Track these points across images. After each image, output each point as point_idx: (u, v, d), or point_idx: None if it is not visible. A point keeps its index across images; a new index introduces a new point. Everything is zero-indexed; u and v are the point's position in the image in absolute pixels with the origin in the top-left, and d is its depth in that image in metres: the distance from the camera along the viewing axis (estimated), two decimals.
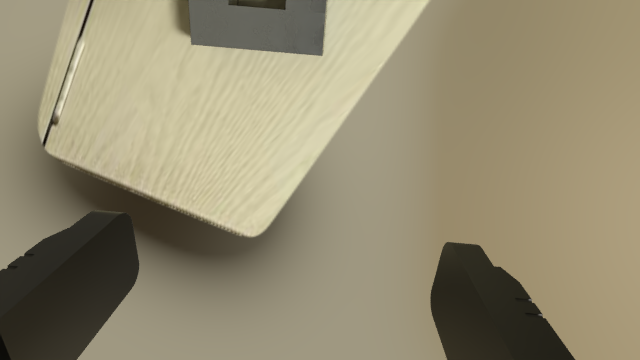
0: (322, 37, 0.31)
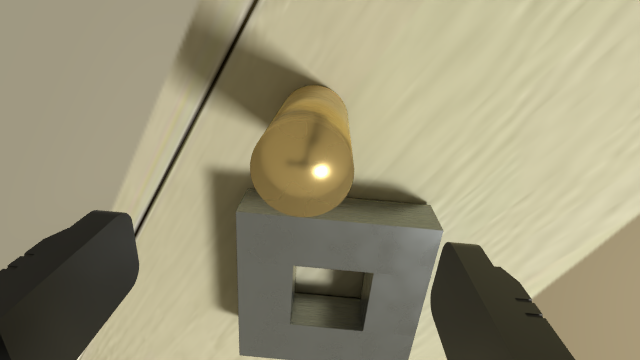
0: (407, 355, 0.24)
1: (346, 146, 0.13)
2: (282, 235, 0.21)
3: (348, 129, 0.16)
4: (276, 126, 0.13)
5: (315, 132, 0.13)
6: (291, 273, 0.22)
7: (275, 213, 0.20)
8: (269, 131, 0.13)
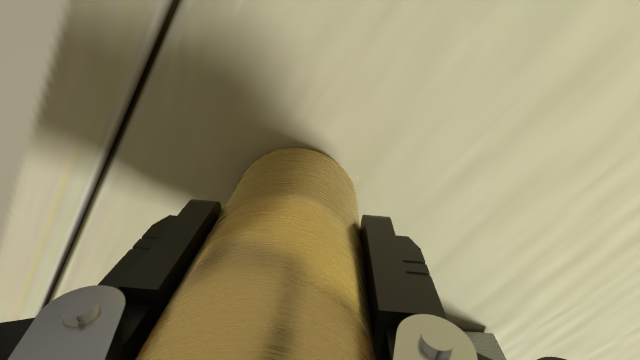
0: None
1: None
2: None
3: (363, 278, 0.07)
4: None
5: None
6: None
7: None
8: None
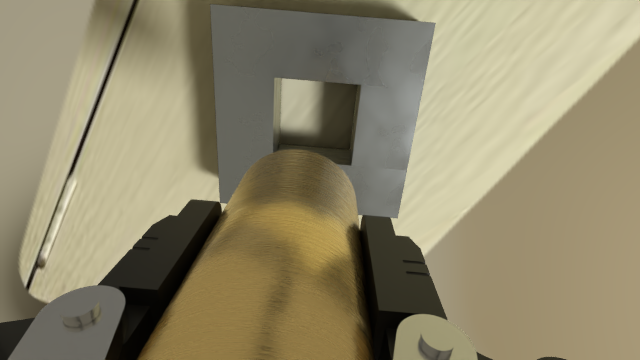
0: (399, 197, 0.23)
1: None
2: (261, 35, 0.19)
3: (363, 280, 0.07)
4: None
5: None
6: (272, 88, 0.20)
7: None
8: None
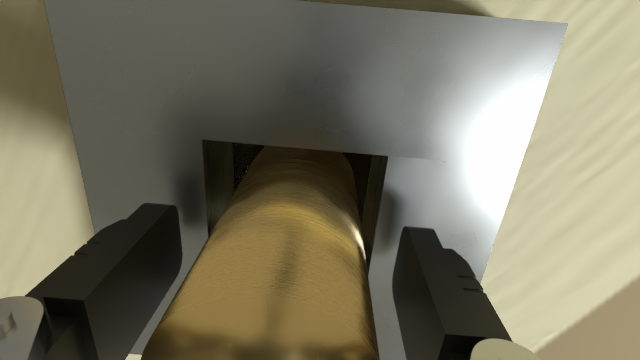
0: None
1: (366, 345, 0.05)
2: (165, 51, 0.08)
3: (360, 236, 0.09)
4: (191, 306, 0.05)
5: (288, 320, 0.05)
6: (200, 161, 0.10)
7: None
8: (175, 317, 0.05)
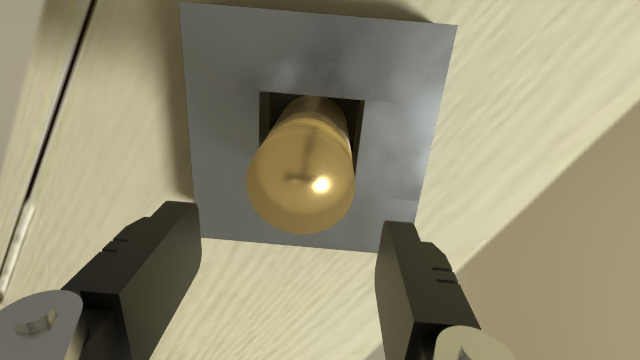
0: None
1: (346, 159, 0.12)
2: (242, 40, 0.15)
3: (348, 140, 0.16)
4: (272, 140, 0.12)
5: (313, 145, 0.12)
6: (257, 104, 0.17)
7: None
8: (265, 145, 0.12)
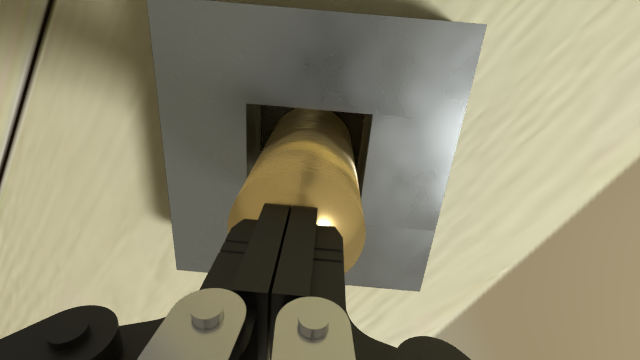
0: (423, 265, 0.16)
1: (354, 200, 0.10)
2: (225, 42, 0.13)
3: (354, 165, 0.13)
4: (259, 178, 0.09)
5: (312, 184, 0.09)
6: (244, 118, 0.14)
7: (211, 1, 0.12)
8: (250, 185, 0.09)
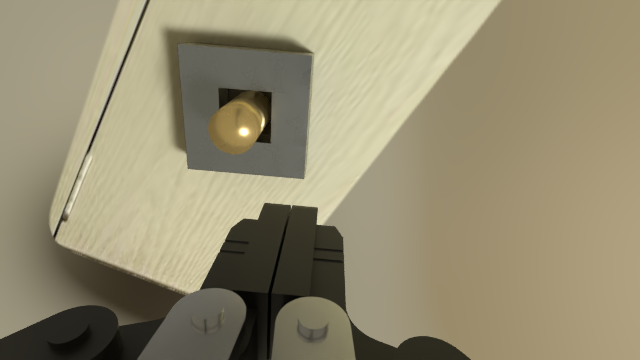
0: (303, 165, 0.35)
1: (251, 118, 0.28)
2: (208, 62, 0.31)
3: (261, 112, 0.32)
4: (218, 110, 0.28)
5: (235, 112, 0.28)
6: (217, 94, 0.32)
7: (203, 46, 0.31)
8: (215, 112, 0.28)
